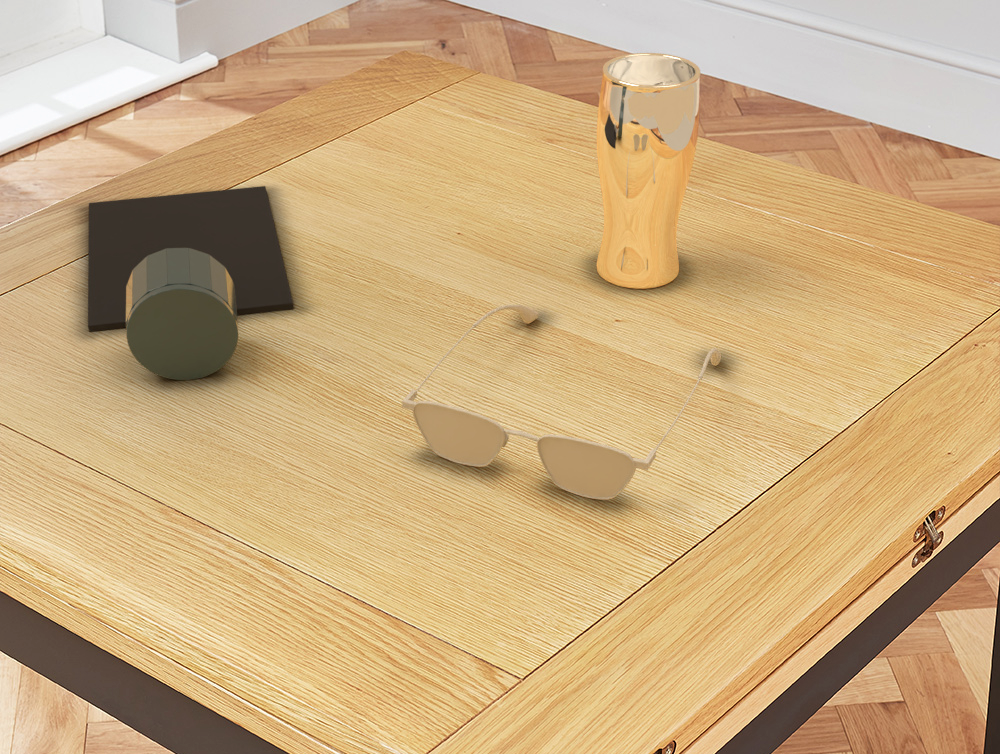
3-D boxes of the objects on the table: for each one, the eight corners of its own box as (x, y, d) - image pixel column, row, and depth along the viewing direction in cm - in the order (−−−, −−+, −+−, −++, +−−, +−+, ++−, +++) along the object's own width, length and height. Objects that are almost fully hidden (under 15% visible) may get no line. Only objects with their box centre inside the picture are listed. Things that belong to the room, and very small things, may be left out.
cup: (111, 363, 86) (113, 320, 89) (216, 392, 89) (213, 349, 92) (146, 274, 82) (146, 233, 86) (254, 308, 85) (249, 267, 89)
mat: (293, 309, 95) (293, 302, 95) (89, 332, 92) (87, 325, 92) (266, 191, 110) (265, 185, 110) (89, 208, 108) (88, 202, 108)
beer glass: (575, 280, 98) (583, 77, 89) (611, 241, 103) (622, 45, 94) (665, 300, 96) (683, 94, 87) (697, 259, 101) (717, 60, 92)
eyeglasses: (401, 450, 81) (398, 394, 79) (520, 314, 94) (521, 263, 92) (643, 515, 76) (648, 457, 74) (734, 362, 89) (740, 309, 87)
